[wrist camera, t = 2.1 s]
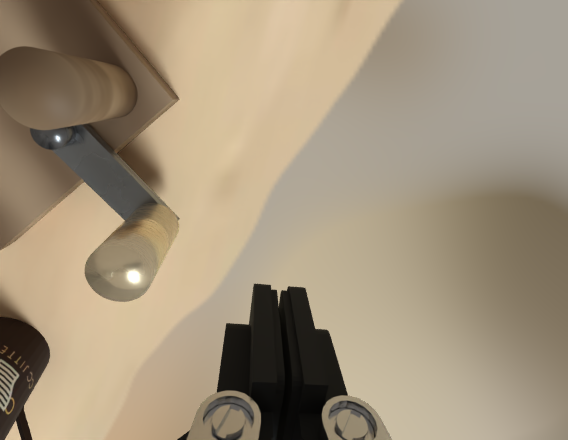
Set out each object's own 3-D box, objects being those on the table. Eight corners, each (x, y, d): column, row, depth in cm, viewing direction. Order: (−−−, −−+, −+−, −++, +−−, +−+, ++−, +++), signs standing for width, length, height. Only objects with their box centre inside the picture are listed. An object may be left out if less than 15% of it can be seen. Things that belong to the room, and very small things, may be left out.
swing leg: (190, 223, 23) (165, 277, 16) (157, 249, 23) (119, 312, 17) (72, 100, 20) (-21, 103, 13) (36, 133, 20) (-71, 152, 13)
